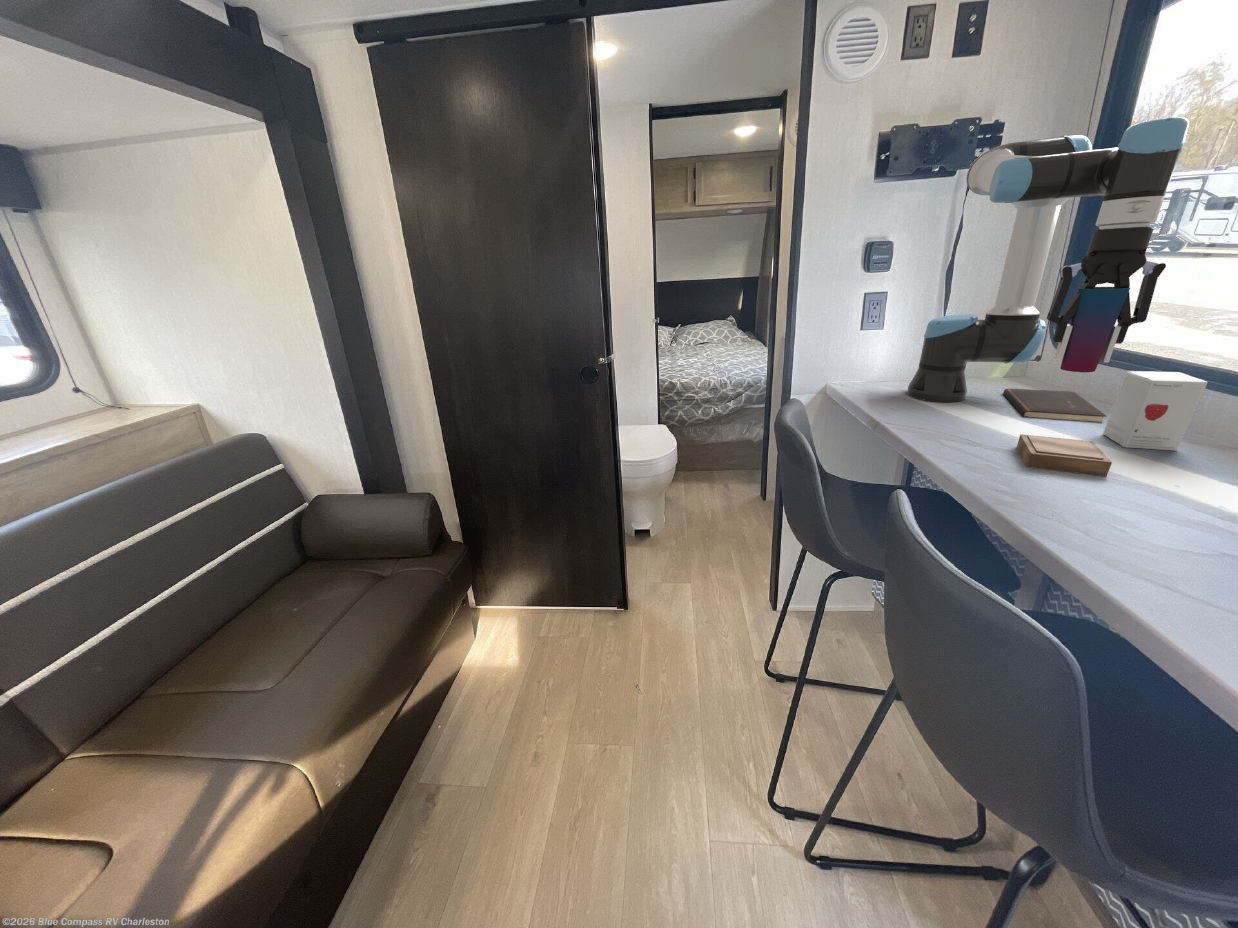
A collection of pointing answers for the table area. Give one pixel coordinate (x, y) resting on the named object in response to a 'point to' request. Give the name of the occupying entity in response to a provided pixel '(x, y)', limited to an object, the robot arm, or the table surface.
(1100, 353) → the cup
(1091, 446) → the pedestal
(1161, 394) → the supplement box
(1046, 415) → the hardcover book
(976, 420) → the table surface
